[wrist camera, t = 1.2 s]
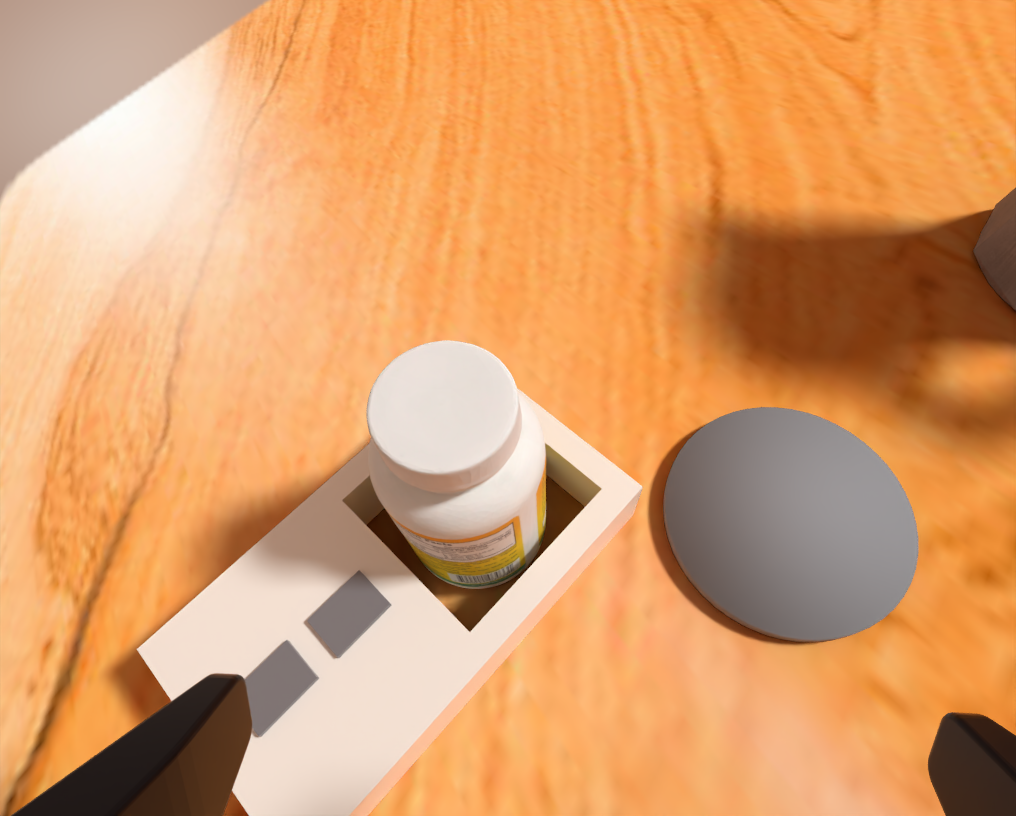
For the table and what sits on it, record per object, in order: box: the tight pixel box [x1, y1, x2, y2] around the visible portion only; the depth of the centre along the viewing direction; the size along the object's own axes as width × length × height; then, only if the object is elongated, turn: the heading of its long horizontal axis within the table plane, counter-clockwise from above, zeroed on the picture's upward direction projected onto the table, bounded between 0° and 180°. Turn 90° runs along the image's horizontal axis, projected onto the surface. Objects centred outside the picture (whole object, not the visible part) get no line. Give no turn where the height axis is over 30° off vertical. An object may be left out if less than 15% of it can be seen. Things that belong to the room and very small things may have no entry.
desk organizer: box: [137, 388, 643, 816], centre depth 22 cm, size 15×8×3 cm, turn 136°
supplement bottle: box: [367, 341, 546, 589], centre depth 20 cm, size 5×5×10 cm
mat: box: [663, 407, 918, 642], centre depth 23 cm, size 9×9×1 cm
